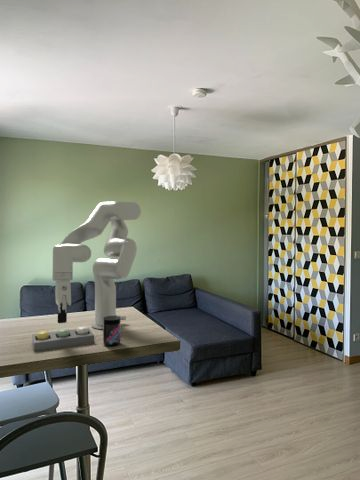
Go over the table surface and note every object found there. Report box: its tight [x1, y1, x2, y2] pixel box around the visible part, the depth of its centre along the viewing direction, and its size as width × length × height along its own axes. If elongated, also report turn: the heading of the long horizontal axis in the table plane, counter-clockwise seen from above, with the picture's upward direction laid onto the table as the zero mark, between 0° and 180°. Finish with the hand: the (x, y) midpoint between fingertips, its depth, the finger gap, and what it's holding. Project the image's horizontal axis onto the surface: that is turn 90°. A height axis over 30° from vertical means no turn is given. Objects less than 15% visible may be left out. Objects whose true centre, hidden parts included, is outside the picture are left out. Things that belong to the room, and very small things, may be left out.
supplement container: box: [102, 315, 122, 348], centre depth 136 cm, size 7×7×10 cm
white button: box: [76, 326, 89, 335], centre depth 141 cm, size 4×4×2 cm
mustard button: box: [36, 330, 49, 340], centre depth 135 cm, size 4×4×2 cm
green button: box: [56, 328, 70, 338], centre depth 138 cm, size 4×4×2 cm
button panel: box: [31, 327, 95, 352], centre depth 138 cm, size 22×11×3 cm, turn 116°
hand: (62, 322), depth 137 cm, fingers closed
